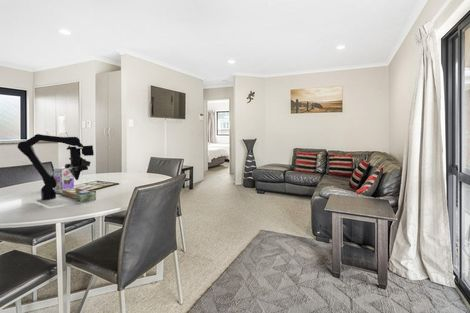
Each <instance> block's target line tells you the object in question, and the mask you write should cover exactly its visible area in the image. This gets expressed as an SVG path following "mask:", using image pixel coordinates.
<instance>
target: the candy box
mask: <svg viewBox="0 0 470 313" xmlns="http://www.w3.org/2000/svg"><path fill="white" fill-rule="evenodd" d="M69 169H70V168H67V169H66V168H65V165H64V166H60V167H55V168H52V171H53V174H54V175H55V178H56V179H58V180H57V185H56V187H55V188H53V190H55V191H60V190H66V189H71V187H72V188H74V187H75V183H74V182H75V180H74V179H75V178H74V176H73V175H72V173H71V172H70V170H69Z"/></svg>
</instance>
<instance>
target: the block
mask: <svg viewBox="0 0 470 313" xmlns="http://www.w3.org/2000/svg"><path fill="white" fill-rule="evenodd" d="M87 190H88V189H85V190H83V191H80V192H78V194H79V195H86V194H90V191H87Z"/></svg>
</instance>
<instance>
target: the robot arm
mask: <svg viewBox="0 0 470 313" xmlns="http://www.w3.org/2000/svg"><path fill="white" fill-rule="evenodd" d="M38 142H50V143H51V142H52V143H61V144H66V145H68V146H67V148H66V150H69V156H70V157H69V158H68V160H70V163H66V164H65V165H64V166H65V168H66V169H67V168H70V169H69V170H70V172H71V173H72V175H73V176H74V179H75V181H78V180H79V178H80V174H81V172H82V171H88V170H89V167H90V166H91V161H90V160H86V158H85V159H84V158H83V157H88V156H89V157H91V156H94V146H93V145H92V144H91V145H83V143H81V140H80V138H79V137H78V136H58V135H57V136H56V135H48V134H41V133H37V134H35V135H33V136H32V137H31V138H29V139H27V140H24V141H20V142H18V144H17V149H18V150H19V151H20V152H21V153H22V154H23V155H24V156H26V157H27V158H28V160H29V161H30V162H31V164H32V165H33V167H34V168H35V170H36V171H37V172H38V173H39V174H40V176H41V178H42V182H43V184H44V185H43V186H42V187H41V189H40V197H41V198H40V199H41V200H42V201H47V200H54V199H57V193H56V190H54V188H55V187H56V185H57V180H58V179H56V178H55V175H54V173H53V174H50V172H49V171H48V170H47V168H46V167H45V166H44V164H43V163H42V162H41V160H40V159H39V157H38V156H37V154H36V152H35V149H34V147H33V146H35V145H36V144H38ZM82 155H83V157H82Z"/></svg>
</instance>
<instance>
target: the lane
mask: <svg viewBox="0 0 470 313" xmlns="http://www.w3.org/2000/svg"><path fill="white" fill-rule="evenodd" d="M61 190H62V195H63V196H65V197H69V198H72V199H75V200H76V201H77V202H78V203H86V202H91V201H96V200H97V196H96V195H97V191H96V190H95V189H86V190H87V191H90V194H86V195H79V194H78V192H80V191H84V190H83V189H82V188H79V187H75V192H72V191H69V190H66V189H61Z"/></svg>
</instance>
